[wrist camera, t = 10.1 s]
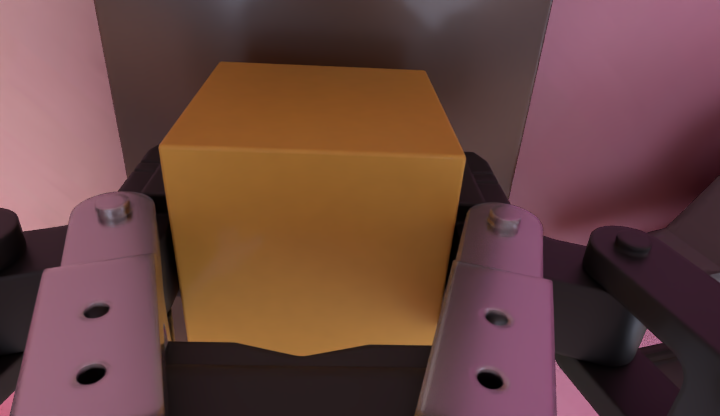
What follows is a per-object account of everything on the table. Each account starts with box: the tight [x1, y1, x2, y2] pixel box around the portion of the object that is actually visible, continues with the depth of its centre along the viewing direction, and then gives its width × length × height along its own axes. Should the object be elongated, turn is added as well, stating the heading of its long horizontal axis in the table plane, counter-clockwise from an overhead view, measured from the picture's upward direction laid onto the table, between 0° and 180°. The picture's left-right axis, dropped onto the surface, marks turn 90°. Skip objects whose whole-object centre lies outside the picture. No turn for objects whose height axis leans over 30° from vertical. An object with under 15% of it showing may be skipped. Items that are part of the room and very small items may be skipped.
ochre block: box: [158, 62, 466, 356], centre depth 11 cm, size 5×5×5 cm
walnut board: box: [94, 0, 553, 342], centre depth 13 cm, size 30×11×1 cm, turn 177°
